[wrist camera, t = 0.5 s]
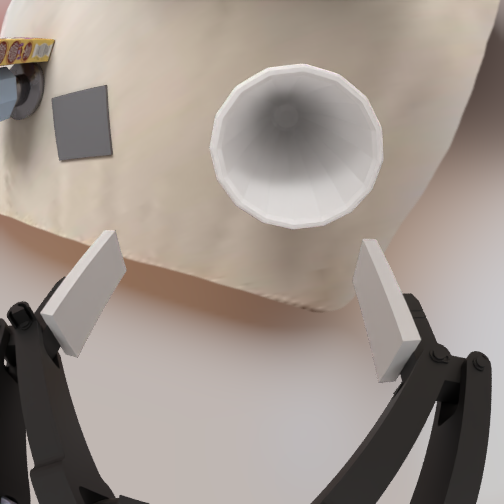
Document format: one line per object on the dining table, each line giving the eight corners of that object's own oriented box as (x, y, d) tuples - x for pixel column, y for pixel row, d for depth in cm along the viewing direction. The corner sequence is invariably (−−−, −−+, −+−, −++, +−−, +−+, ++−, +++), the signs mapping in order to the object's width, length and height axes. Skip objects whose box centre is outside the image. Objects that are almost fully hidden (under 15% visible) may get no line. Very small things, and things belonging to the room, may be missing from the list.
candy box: (56, 37, 28) (-13, 40, 15) (49, 61, 30) (-20, 72, 17) (24, 35, 26) (-40, 42, 14) (18, 57, 29) (-46, 70, 16)
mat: (53, 98, 34) (51, 98, 33) (106, 84, 33) (105, 85, 33) (61, 159, 40) (59, 160, 40) (112, 153, 39) (111, 154, 39)
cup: (223, 112, 36) (172, 150, 18) (287, 55, 31) (305, 26, 13) (282, 170, 40) (290, 260, 22) (345, 119, 35) (415, 166, 17)
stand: (5, 69, 29) (-42, 81, 19) (43, 51, 29) (-9, 57, 19) (9, 123, 35) (-37, 143, 25) (46, 111, 35) (-4, 130, 25)
